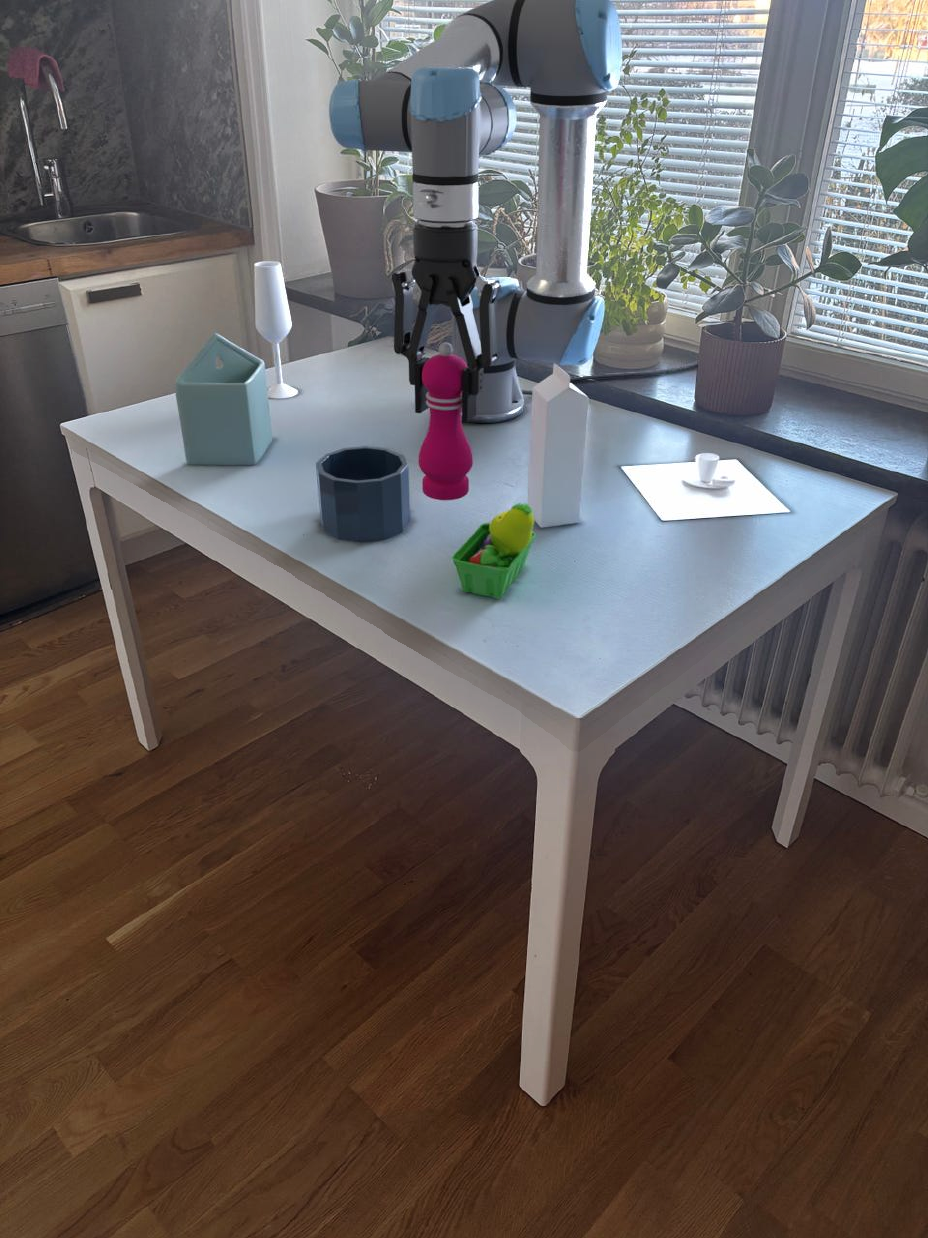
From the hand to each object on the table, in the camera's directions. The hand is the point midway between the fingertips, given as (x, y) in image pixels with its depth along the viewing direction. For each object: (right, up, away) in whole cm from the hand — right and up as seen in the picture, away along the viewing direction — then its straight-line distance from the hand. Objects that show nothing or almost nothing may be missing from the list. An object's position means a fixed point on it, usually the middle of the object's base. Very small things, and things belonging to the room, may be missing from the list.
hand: (445, 413), depth 121 cm
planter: (-34, 0, +35) cm, 49 cm away
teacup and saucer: (+40, -6, +26) cm, 48 cm away
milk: (+15, -12, +17) cm, 26 cm away
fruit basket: (+7, -22, +1) cm, 23 cm away
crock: (-12, -12, +15) cm, 23 cm away
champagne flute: (-33, +18, +62) cm, 73 cm away
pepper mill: (0, -9, +6) cm, 11 cm away
